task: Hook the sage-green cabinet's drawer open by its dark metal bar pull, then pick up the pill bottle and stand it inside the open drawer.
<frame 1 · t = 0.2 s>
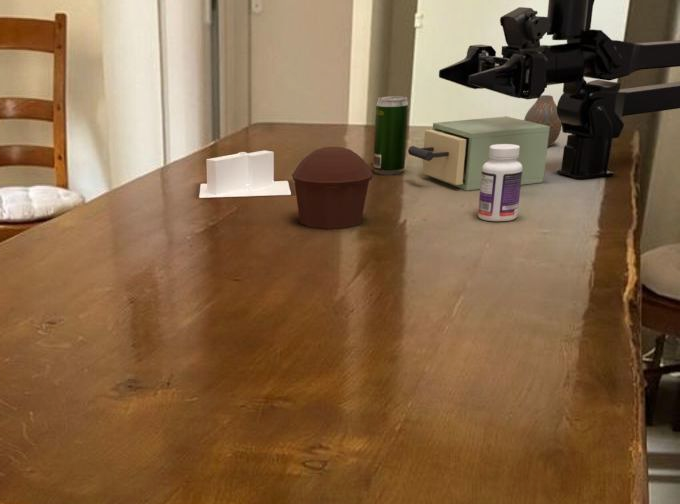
hand: (453, 76, 153), 17 cm above the table, tool horizontal, fingers open, 9 cm apart
beer can: (388, 173, 175), on the table
pill bottle: (496, 219, 143), on the table
drawer: (463, 154, 163), point 4 cm above the table, slide at 0.5 cm
cabinet: (484, 179, 166), on the table
muffin: (330, 222, 145), on the table
vase: (539, 146, 191), on the table
napkin holder: (244, 190, 167), on the table
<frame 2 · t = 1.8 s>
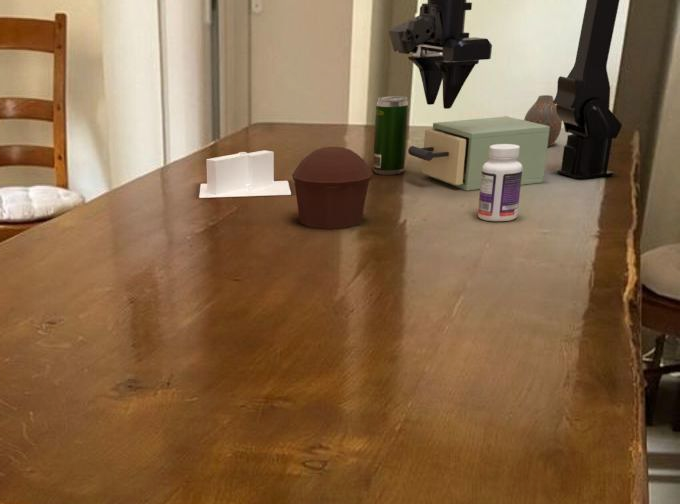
hand: (438, 106, 158), 12 cm above the table, tool pointing down, fingers open, 5 cm apart
nothing on the table moved.
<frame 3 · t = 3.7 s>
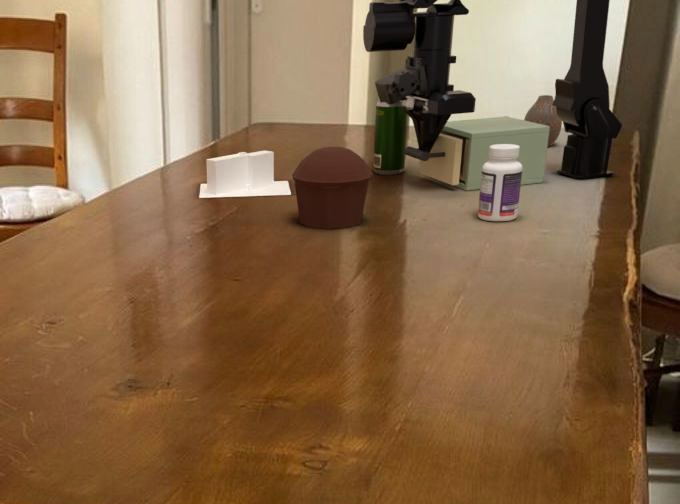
hand: (424, 155, 161), 5 cm above the table, tool pointing down, fingers closed, pressing on drawer
drawer: (459, 155, 163), point 4 cm above the table, slide at 1.1 cm, touching gripper
everything else where it was.
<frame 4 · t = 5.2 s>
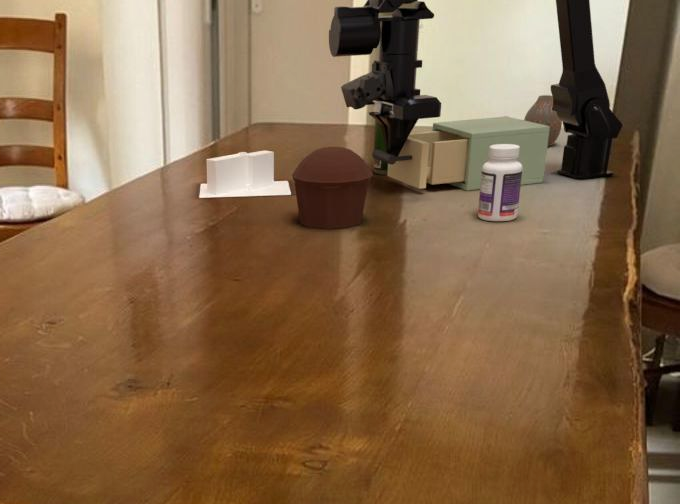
hand: (392, 159, 160), 5 cm above the table, tool pointing down, fingers closed
drawer: (427, 158, 162), point 4 cm above the table, slide at 6.8 cm
everything else where it was.
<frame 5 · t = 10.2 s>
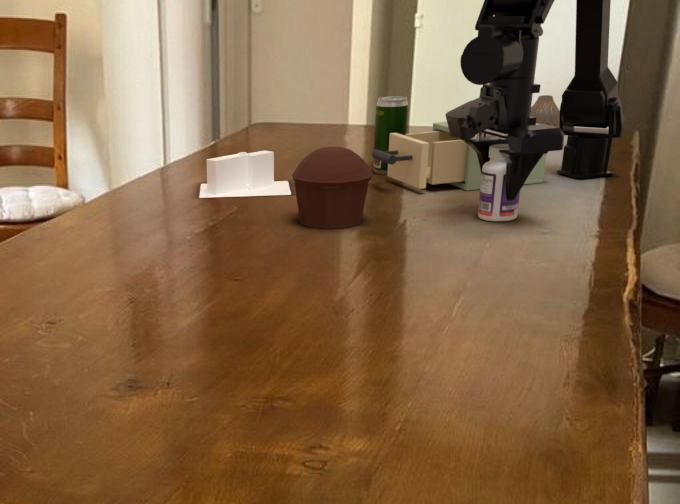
hand: (499, 195, 142), 3 cm above the table, tool pointing down, fingers closed on pill bottle, 5 cm apart
pill bottle: (496, 219, 143), on the table, touching gripper
everything else where it was.
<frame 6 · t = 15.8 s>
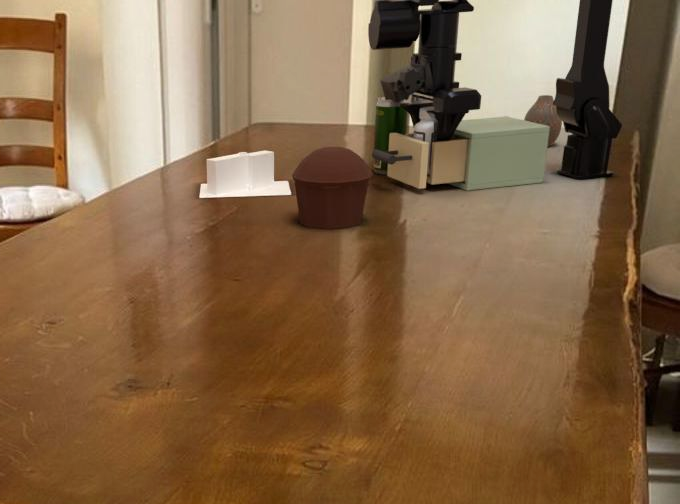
hand: (430, 152, 161), 5 cm above the table, tool pointing down, fingers closed on pill bottle, 5 cm apart
pill bottle: (428, 173, 163), point 2 cm above the table, touching gripper
everything else where it was.
when the fingers open (6 cm above the table, at t = 21.2 s): pill bottle stays where it is, resting on drawer.
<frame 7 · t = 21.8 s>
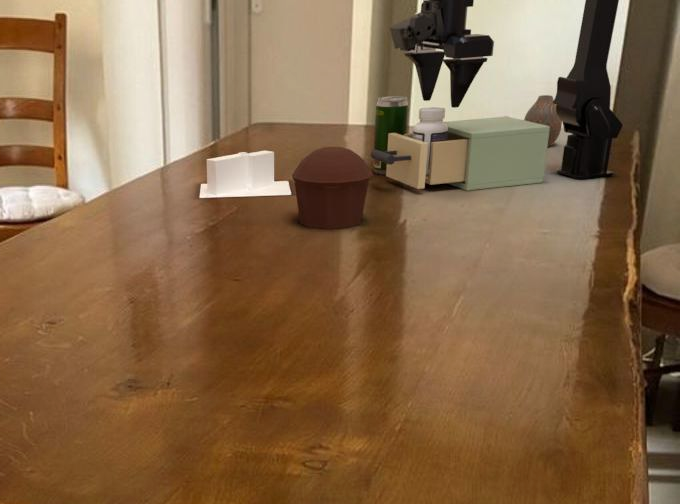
hand: (440, 103, 157), 13 cm above the table, tool pointing down, fingers open, 9 cm apart
pill bottle: (427, 174, 163), point 2 cm above the table, touching drawer
drawer: (426, 158, 162), point 4 cm above the table, slide at 7.1 cm, touching pill bottle
everything else where it was.
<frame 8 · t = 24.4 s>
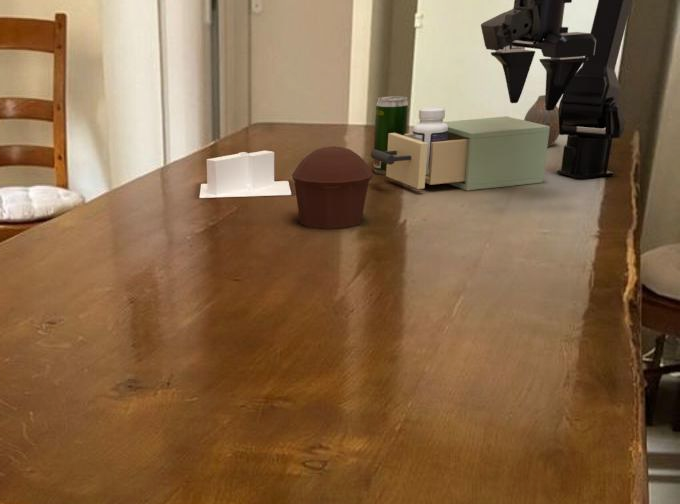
hand: (531, 106, 147), 13 cm above the table, tool pointing down, fingers open, 9 cm apart
nothing on the table moved.
at the end: drawer slide at 7.1 cm; pill bottle inside the target area in the drawer (0.1 cm from its centre), point 1.8 cm above the cabinet's base; pill bottle tilted 0° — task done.
